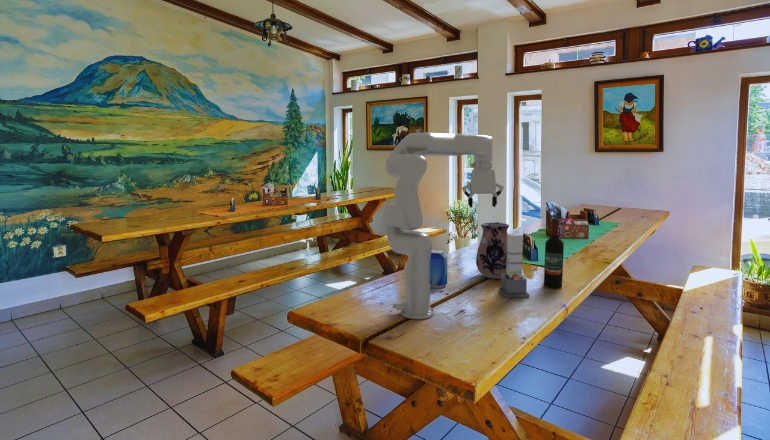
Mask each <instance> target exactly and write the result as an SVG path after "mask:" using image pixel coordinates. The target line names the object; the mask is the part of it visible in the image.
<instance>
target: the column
mask: <svg viewBox="0 0 770 440" xmlns="http://www.w3.org/2000/svg"><path fill="white" fill-rule="evenodd" d="M523 237H524V236H523V234H521V232H513V233H512V232H511V233H510V232H509V233H508V232H507V259H506V261H507V266H506V275H507V276H508V277H509V278H510V279H513V276H515V275H519V276H520V278H522V275H523V254H524V252H523V250H524V249H523V245H524V243H523V242H524V238H523Z"/></svg>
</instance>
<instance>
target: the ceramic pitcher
mask: <svg viewBox="0 0 770 440" xmlns="http://www.w3.org/2000/svg"><path fill="white" fill-rule="evenodd" d="M480 226H481V229H482V236H481V238H480V242H479V245H478V248H477V251H476V257H475V264H476V268H477V271H479V273H480V274H481V275H482V276H483V277H485V278H488V279H492V280H493V279H495V280H499V279H501V275H502V274H506V266H507V261H506V259H507V233H508V230H509V227H510V225H509V224H507V223H504V222H503V223H501V222H499V221H496V222H495V221H494V222H484V223H482V224H480Z"/></svg>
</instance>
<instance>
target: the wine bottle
mask: <svg viewBox="0 0 770 440" xmlns="http://www.w3.org/2000/svg"><path fill="white" fill-rule="evenodd" d="M559 225H560V219H559V218H558V217H557V218H556V217H555V218H552V219H551V234H550V235H551V236H550V237H549V238H548V239H547V240H546V241H545V245H544V247H545V248H544V271H543V272H544V273H543V286H544V288H548V289H553V290H554V289H555V290H557V289H561V287H562V288H563V272H564V271H563V270H564V252H565V251H564V249H565V243H564V241H563V240H562V239H561V238H560V237H559V227H560V226H559Z"/></svg>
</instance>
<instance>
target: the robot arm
mask: <svg viewBox="0 0 770 440" xmlns="http://www.w3.org/2000/svg"><path fill="white" fill-rule="evenodd" d="M493 144H494V142H493V137H492V136H490V135H484V134H466V133H465V134H464V133H451V132H450V133H449V132H432V131H431V132H429V131H427V132H411V133H408V134H407V135H406V136H405V137H403V139H401V140H400V142H399V143H398V144H397V145H396V146H395V148H394V149H393V150H392V151H391V152H390V154H389V155H388V156H387V158H386V160H385V165H384V167H385V171H386V173H388V175H390V177H394V178H398V180H397V182H396V184H395V186H394V187H393V188H394V190H393V197H394V202H390V203H388V204H387V205H386V206H385V207H384V210H383V213H382V214H383V215H382V222H383V227H384V229H385V234H386V237H387V241H388V244H389V245H388V246H389V247H390V248H391V250H392V251H393V252H395V253H397V254H400V255H405V256H407V257H408V258H407V260H406V262H405V264H404V266H403V267H404V270H403V277H404V278H403V279H404V280H403V281H404V282H403V284H404V285H403V286H404V299H403V301H401V302H399V303H398V302H392V309H395V310H396V311H400V314H401V316H402V317H403V318H407V319H409V320H410V319H411V320H426V319H429V318H432V317H433V316H434V315H435V310H434V308H433V307H431V288H430V287H431V286H430V257H431V251H432V250H433V240H432V238H431V236H430V235H429V234H428V233H426V232H423V231H420V230H419V229H421V227H422V226H423V222H424V218H423V217H424V216H423V212H422V207H421V202H420V198H419V191H418V189H419V185H420V183H421V180H422V178H423V177H424V176H425V174H426V171H427V168H428V161H427V158H426V156H427V157H431V156H432V157H436V156H437V157H440V156H442V157H445V156H446V157H448V156H449V157H451V156H452V157H455V156H467V155H468V156H469V155H470V156H471V155H472V156H473V162H472V163H470V165H469V167H470V168H473V169H471V173H470V182H469V183H468V184H466V185H463V186H462V187H461V190H462V192H463V194H464V195H465V196H466V197H467V198H468V199H467V201H468V202H467V204H468V206H469V208H470V209H471V208H474V207H473V205H474V204H473V201H474V199H473V196H474V195H476V194H477V195H479V194H482V195H484V194H489V195H490V194H492V197H491V206H492V207H493V208H496V206H497V205H498V197H499V196H500V195H501V194H502V192H503V190H504V186H503V185H501V184H499V183H497V181H496V179H497V178H496V172H495V171H496V170H495V169H494V168H493V150H494V149H493ZM424 156H425V157H424ZM497 188H498V190H497ZM468 189H469V190H470V192H468V191H467V190H468ZM418 230H419V231H418Z"/></svg>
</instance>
